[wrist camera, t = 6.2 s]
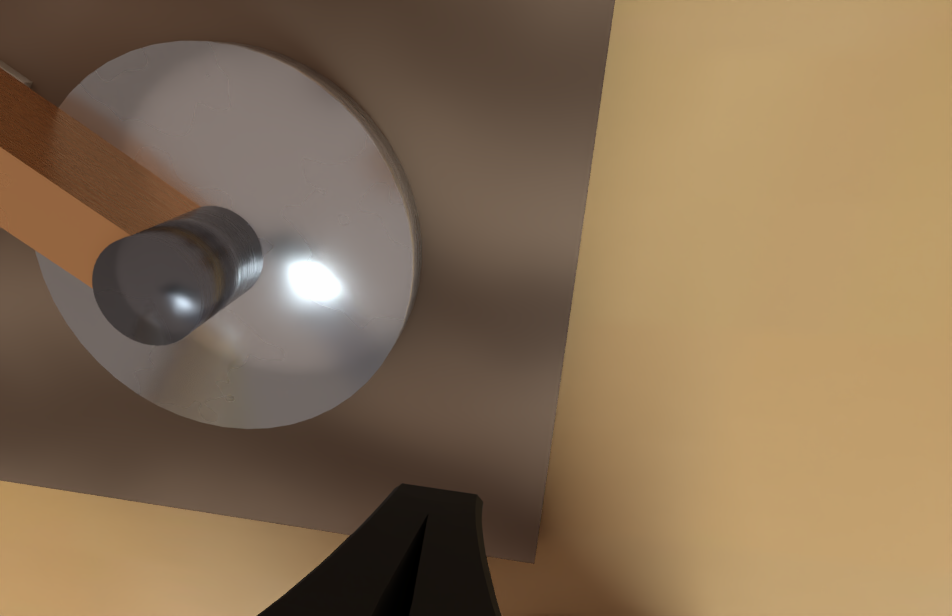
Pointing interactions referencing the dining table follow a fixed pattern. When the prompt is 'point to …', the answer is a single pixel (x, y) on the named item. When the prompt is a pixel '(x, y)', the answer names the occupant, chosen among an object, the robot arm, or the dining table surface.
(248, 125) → the dial
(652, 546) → the dining table surface
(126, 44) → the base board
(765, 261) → the dining table surface
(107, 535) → the dining table surface
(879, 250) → the dining table surface
